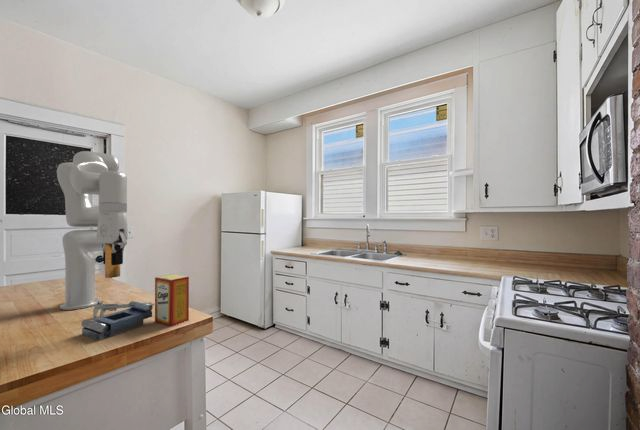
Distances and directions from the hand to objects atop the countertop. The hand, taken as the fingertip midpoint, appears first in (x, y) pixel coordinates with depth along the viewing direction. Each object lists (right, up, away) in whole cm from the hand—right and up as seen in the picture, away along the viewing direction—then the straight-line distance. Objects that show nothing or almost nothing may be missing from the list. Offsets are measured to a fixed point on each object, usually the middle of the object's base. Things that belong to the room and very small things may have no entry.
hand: (113, 263), depth 92 cm
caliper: (-8, -22, +17) cm, 29 cm away
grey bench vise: (+2, -22, 0) cm, 22 cm away
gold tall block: (0, -4, 0) cm, 4 cm away
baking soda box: (+16, -22, +7) cm, 28 cm away
